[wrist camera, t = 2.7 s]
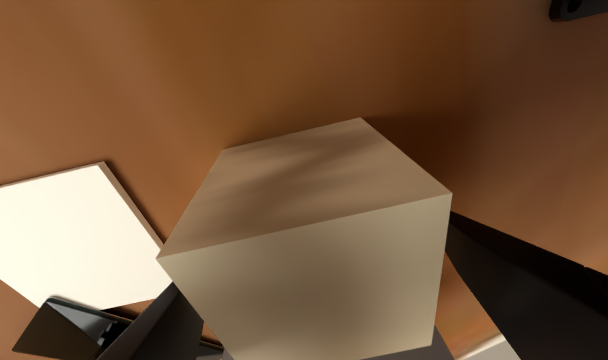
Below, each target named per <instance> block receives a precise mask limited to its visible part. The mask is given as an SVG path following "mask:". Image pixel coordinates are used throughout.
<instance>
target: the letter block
mask: <svg viewBox="0 0 608 360" xmlns="http://www.w3.org/2000/svg"><path fill="white" fill-rule="evenodd" d="M451 200H452V192H450V191H449V190H448V189H447V188H446V187H444V186H443V185H442V184H441V183H440V182H438V181H437V180H436V179H435V178H433V177H432V176H431V175H430V174H429V173H427V172H426V171H425V170H424V169H423V168H421V167H420V166H419V165H418V164H416V163H415V162H414V161H413V160H412V159H410V158H409V157H408V156H407V155H406V154H404V153H403V152H402V151H401V150H399V149H398V148H397V147H396V146H395V145H393V144H392V143H391V142H390V141H389V140H387V139H386V138H385V137H384V136H382V135H381V134H380V133H379V132H378V131H376V130H375V129H374V128H373V127H372V126H370V125H369V124H368V123H367V122H365V121H364V120H363V119H362V118H361V117H360V118H356V119H351V120H347V121H343V122H338V123H334V124H330V125H326V126H321V127H317V128H313V129H308V130H304V131H300V132H296V133H291V134H287V135H283V136H278V137H274V138H270V139H266V140H261V141H257V142H253V143H248V144H244V145H240V146H236V147H231V148H227V149H223V150H222V151H221V153H220V154H219V156H218V158H217V159H216V161H215V163H214V164H213V166H212V167H211V169H210V171H209V172H208V174H207V176H206V177H205V179H204V180H203V182H202V184H201V185H200V187H199V189H198V190H197V192H196V193H195V195H194V197H193V198H192V200H191V201H190V203H189V205H188V206H187V208H186V210H185V211H184V213H183V214H182V216H181V218H180V219H179V221H178V223H177V224H176V226H175V227H174V229H173V231H172V232H171V234H170V236H169V237H168V239H167V240H166V242H165V244H164V245H163V247H162V249H161V250H160V252H159V253H158V255H157V257H156V258H155V259H156V260H157V262H158V263H159V264H160V265H161V267H162V268H163V269H164V270H165V272H166V273H167V274H168V276H169V277H170V278H171V279H172V281H173V282H174V283H175V285H176V286H177V287H178V288H179V290H180V291H181V292H182V294H183V295H184V296H185V297H186V299H187V300H188V301H189V303H190V304H191V305H192V306H193V308H194V309H195V310H196V311H197V313H198V314H199V315H200V317H201V318H202V319H203V320H204V322H205V323H206V324H207V326H208V327H209V328H210V329H211V331H212V332H213V333H214V335H215V336H216V337H217V338H218V340H219V341H220V342H221V344H222V345H223V346H224V347H225V349H226V350H227V351H228V353H229V354H230V355H231V356H232V358H233V359H234V360H360V359H365V358H370V357H375V356H380V355H385V354H390V353H395V352H400V351H405V350H410V349H415V348H420V347H425V346H430V345H431V343H432V336H433V329H434V322H435V315H436V308H437V300H438V293H439V286H440V279H441V272H442V265H443V258H444V250H445V243H446V236H447V229H448V222H449V215H450V208H451Z"/></svg>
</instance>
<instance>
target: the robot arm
mask: <svg viewBox="0 0 608 360" xmlns="http://www.w3.org/2000/svg"><path fill="white" fill-rule="evenodd" d="M569 2H570V5H569V7H568V9H567V6H568V4H569ZM607 11H608V0H552V2H551V6H550V10H549V17H550V20H552V21H553V22H561V21H570V20H574V19H578V18H582V17H586V16H590V15H594V14H599V13H603V12H607ZM445 252H446V254H447V255H448V257H449V259H450V260H451V262H452V264H453V266H454V267H455V269H456V271H457V272H458V274H459V275H460V277H461V278H462V279H463V281H464V282H465V284H466V285H467V286H468V288H469V289H470V290H471V292H472V293H473V295H474V296H475V297H476V299H477V300H478V301H479V303H480V304H481V306H482V307H483V308H484V310H485V311H486V312H487V314H488V315H489V317H490V318H491V319H492V321H493V322H494V323H495V325H496V326H497V327H498V329H499V330H500V332H501V333H502V334H503V336H504V337H505V338H506V340H507V341H508V343H509V344H510V345H511V347H512V348H513V349H514V351H515V352H516V353H517V355H518V356H519V358H520V359H521V360H608V275H606V274H603V273H601V272H598V271H596V270H594V269H591V268H589V267H584V266H583V265H581V264H579V263H576V262H574V261H571V260H569V259H567V258H564V257H562V256H559V255H557V254H554V253H552V252H550V251H547V250H545V249H542V248H540V247H537V246H535V245H533V244H530V243H528V242H525V241H523V240H520V239H518V238H516V237H513V236H511V235H508V234H506V233H503V232H501V231H499V230H496V229H494V228H491V227H489V226H486V225H484V224H482V223H479V222H477V221H474V220H472V219H469V218H467V217H465V216H462V215H460V214H457V213H455V212H452V211H450V215H449V222H448V229H447V236H446V243H445ZM203 324H204V320H203V319H202V318H201V317H200V315H199V314H198V313H197V311H196V310H195V309H194V308H193V306H192V305H191V304H190V303H189V301H188V300H187V299H186V297H185V296H184V295H183V294H182V292H181V291H180V290H179V288H178V287H177V286H176V285H175V283H174V282H173V281H172V282H171V283H170V285H169V286H168V287H167V288H166V289H165V290H164V291H163V292H162V293H161V294H160V295H159V296H158V297H157V298H156V299H155V300H154V301H153V302H152V303H151V304H150V305H149V306H148V307H147V308H146V309H145V310H144V311H143V312H142V313H141V314H140V315H139V316H138V318H137V319H136V320H135V321H134V322H133V323H132V324H131V325H130V326H129V327H128V328H127V329H126V330H125V331H124V332H123V333H122V334H121V335H120V336H119V337H118V338H117V339H116V340H115V341H114V342H113V343H112V344H111V345H110V346H109V347H108V348H107V349H106V350H105V352H104V353H103V354H102V355H101V356H100V357H99V358H98V359H97V360H196V357H197V353H198V348H199V343H200V339H201V334H202V329H203Z"/></svg>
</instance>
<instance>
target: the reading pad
mask: <svg viewBox="0 0 608 360" xmlns="http://www.w3.org/2000/svg"><path fill="white" fill-rule="evenodd" d="M163 245H164V244H163V243H162V241H161V240H160V239H159V237H158V236H157V235H156V233H155V232H154V230H153V229H152V228H151V226H150V225H149V223H148V222H147V221H146V219H145V218H144V216H143V215H142V214H141V212H140V211H139V210H138V208H137V207H136V205H135V204H134V203H133V201H132V200H131V198H130V197H129V196H128V194H127V193H126V192H125V190H124V189H123V187H122V186H121V185H120V183H119V182H118V180H117V179H116V178H115V176H114V175H113V173H112V172H111V171H110V169H109V168H108V167H107V165H106V164H105V162H104V161H103V162H98V163H94V164H90V165H86V166H81V167H77V168H73V169H69V170H65V171H60V172H56V173H52V174H48V175H43V176H39V177H35V178H31V179H27V180H22V181H18V182H14V183H10V184H5V185H1V186H0V279H1V280H2V281H4V282H5V283H7V284H8V285H9V286H11V287H12V288H13V289H15V290H16V291H17V292H19V293H20V294H22V295H23V296H24V297H26V298H27V299H28V300H30V301H31V302H32V303H34V304H35V305H36V306H38V307H39V308H40V307H41V306H42V304H43V303H44V302H45V301H46V299H47V298H49V297H54V298H58V299H61V300H65V301H68V302H71V303H75V304H78V305H82V306H85V307H88V308H92V309H95V310H98V311H99V310H103V309H108V308H112V307H117V306H122V305H126V304H131V303H135V302H140V301H145V300H149V299H154V298H157V297H158V296H159V295H160V294H161V293H162V292H163V291H164V290H165V289H166V288H167V287H168V286H169V285H170V283H171V282H172V279H171V278H170V277H169V276H168V274H167V273H166V272H165V270H164V269H163V268H162V267H161V265H160V264H159V263H158V262H157V260H156V259H155V258H156V257H157V255H158V253H159V252H160V250H161V249H162V247H163Z"/></svg>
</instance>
